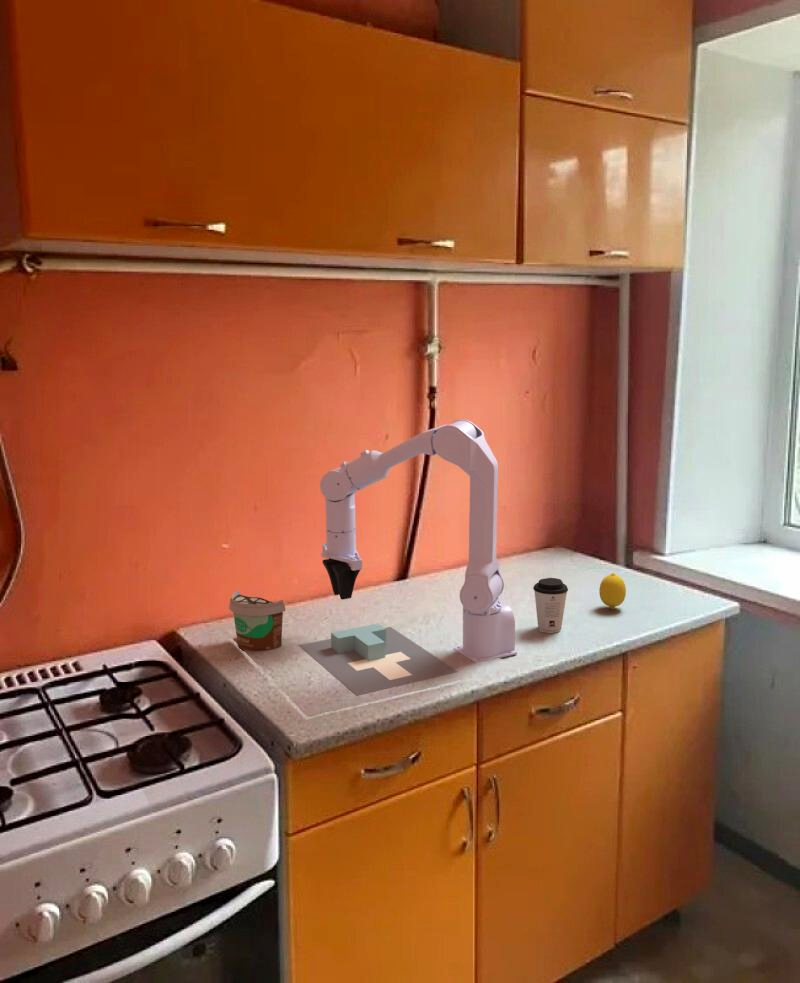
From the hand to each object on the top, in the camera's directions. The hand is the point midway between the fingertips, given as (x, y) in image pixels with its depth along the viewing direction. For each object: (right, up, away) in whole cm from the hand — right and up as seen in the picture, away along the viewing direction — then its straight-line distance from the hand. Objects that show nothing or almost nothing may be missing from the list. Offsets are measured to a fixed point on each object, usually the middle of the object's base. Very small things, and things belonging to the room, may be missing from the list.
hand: (342, 596), depth 175 cm
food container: (-17, -10, -4) cm, 20 cm away
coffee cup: (+42, -7, +5) cm, 43 cm away
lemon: (+57, -5, +16) cm, 59 cm away
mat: (+7, -11, -10) cm, 16 cm away
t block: (+5, -10, -7) cm, 13 cm away
